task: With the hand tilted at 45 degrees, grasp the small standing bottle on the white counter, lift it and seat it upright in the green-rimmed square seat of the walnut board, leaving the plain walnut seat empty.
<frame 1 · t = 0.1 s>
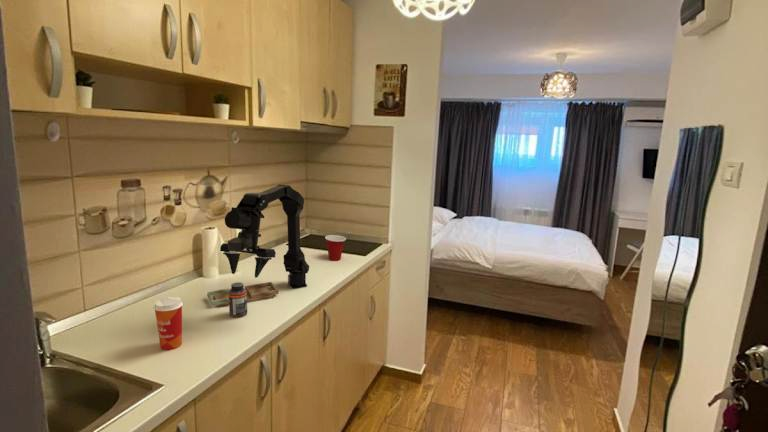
hand: (244, 275, 137), 15 cm above the worktop, tool pointing down, fingers open, 9 cm apart
supplement bottle: (238, 314, 143), on the worktop
paper cup: (171, 346, 120), on the worktop
seat board: (243, 297, 158), on the worktop
plastic cup: (335, 259, 210), on the worktop
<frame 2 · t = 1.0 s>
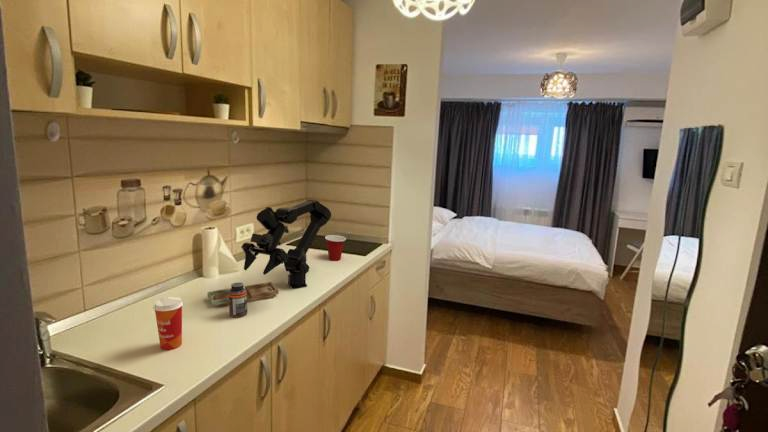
hand: (254, 272, 147), 13 cm above the worktop, tool tilted 45°, fingers open, 9 cm apart
nothing on the worktop moved.
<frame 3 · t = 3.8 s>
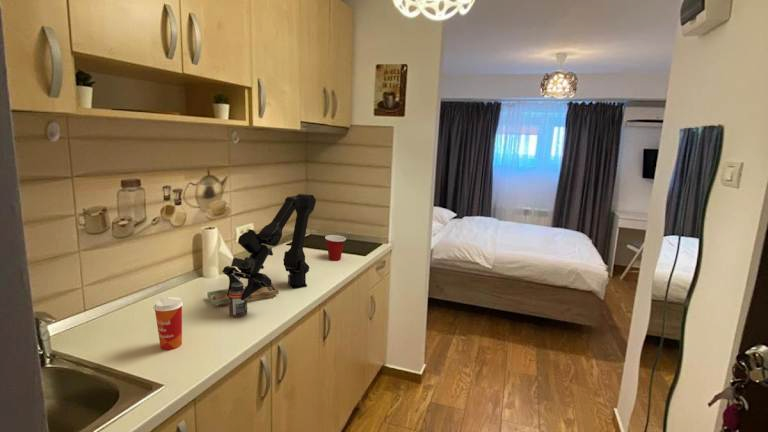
hand: (234, 298, 140), 7 cm above the worktop, tool tilted 45°, fingers closed on supplement bottle, 6 cm apart
supplement bottle: (238, 314, 143), on the worktop, touching gripper
everything else where it was.
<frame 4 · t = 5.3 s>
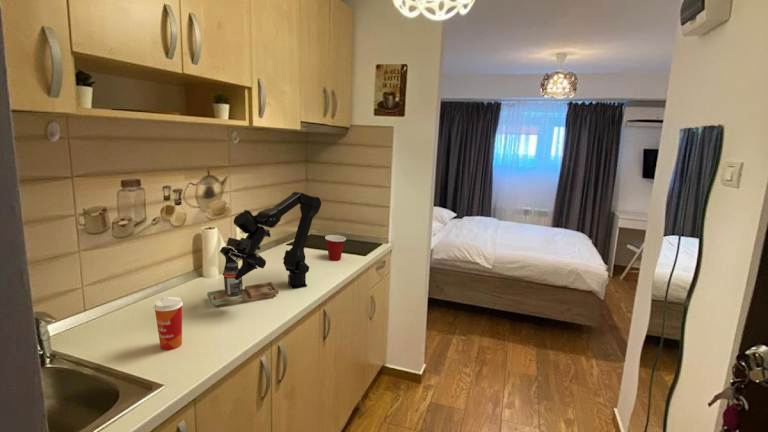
hand: (229, 277, 141), 13 cm above the worktop, tool tilted 45°, fingers closed on supplement bottle, 6 cm apart
supplement bottle: (234, 294, 143), point 6 cm above the worktop, touching gripper
everything else where it was.
when the fingers open (9 cm above the worktop, at t = 7.1 s): supplement bottle drops 1 cm, resting on seat board.
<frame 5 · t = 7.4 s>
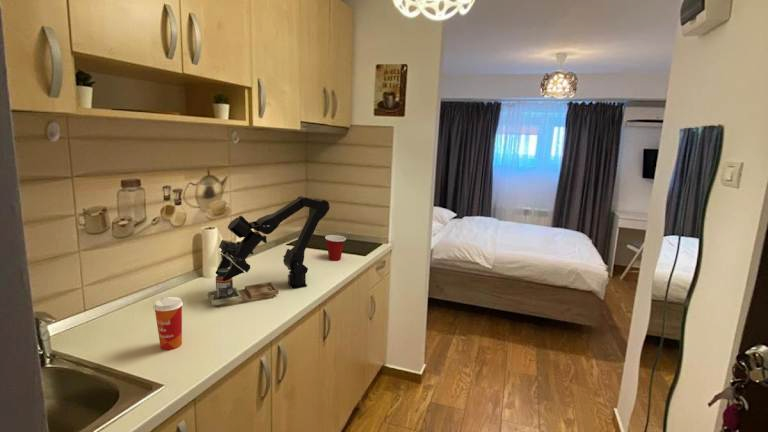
hand: (219, 277, 151), 10 cm above the worktop, tool tilted 45°, fingers open, 8 cm apart
supplement bottle: (225, 298, 154), point 1 cm above the worktop, touching seat board
everything else where it was.
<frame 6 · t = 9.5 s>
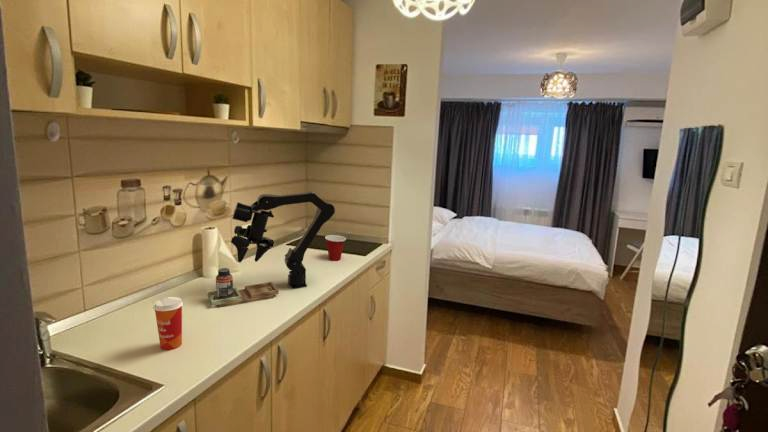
hand: (247, 261, 162), 12 cm above the worktop, tool tilted 15°, fingers open, 9 cm apart
nothing on the worktop moved.
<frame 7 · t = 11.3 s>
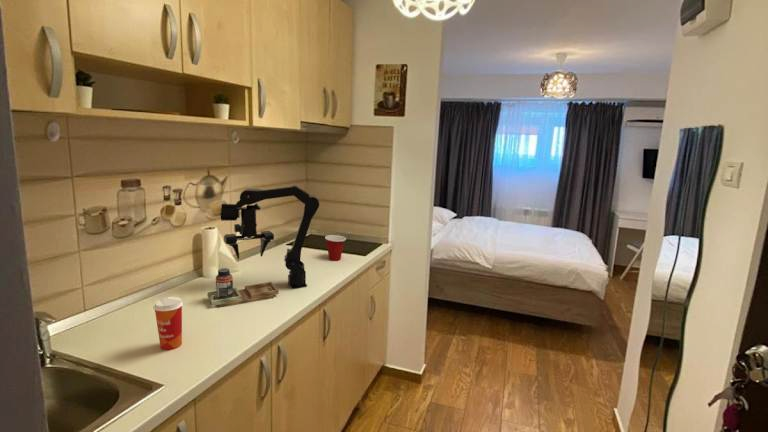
hand: (249, 257, 165), 13 cm above the worktop, tool pointing down, fingers open, 9 cm apart
nothing on the worktop moved.
at the end: supplement bottle 0.2 cm from the target spot on the seat board, point 0.8 cm above the seat board's base; supplement bottle tilted 0°; the gripper is holding nothing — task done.
